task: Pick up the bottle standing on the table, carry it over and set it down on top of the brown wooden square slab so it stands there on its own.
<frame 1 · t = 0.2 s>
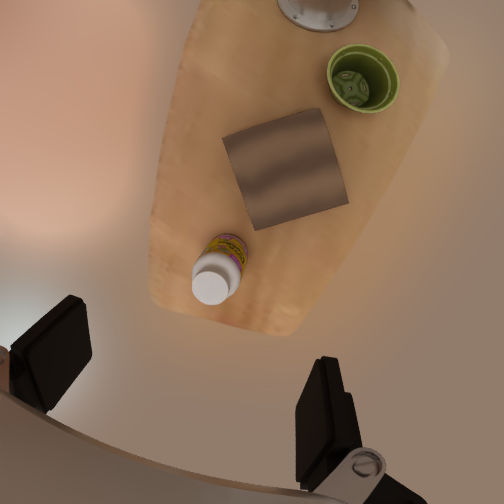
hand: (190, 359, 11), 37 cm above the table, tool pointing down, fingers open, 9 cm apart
plant pot: (349, 88, 38), on the table
brown wooden square slab: (286, 167, 43), on the table
supplement bottle: (227, 252, 49), on the table
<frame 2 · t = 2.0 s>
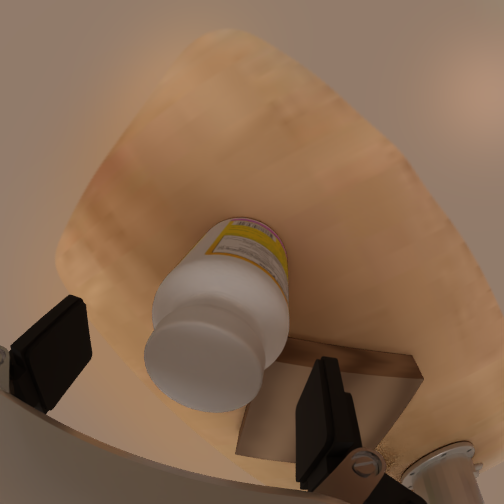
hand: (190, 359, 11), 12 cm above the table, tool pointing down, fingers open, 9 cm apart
brown wooden square slab: (320, 401, 26), on the table
supplement bottle: (243, 258, 23), on the table
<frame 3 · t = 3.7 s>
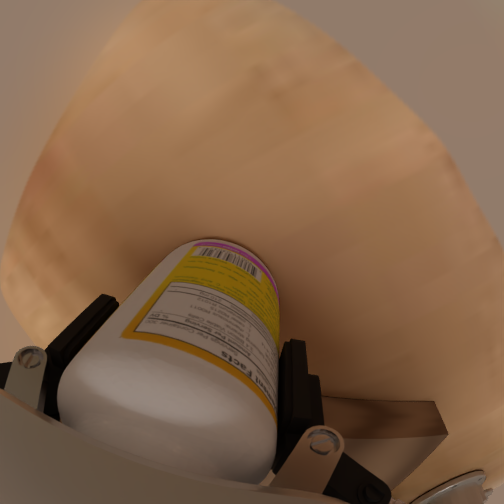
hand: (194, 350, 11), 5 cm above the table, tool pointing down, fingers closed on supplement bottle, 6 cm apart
brown wooden square slab: (320, 452, 20), on the table
supplement bottle: (217, 294, 16), on the table, touching gripper
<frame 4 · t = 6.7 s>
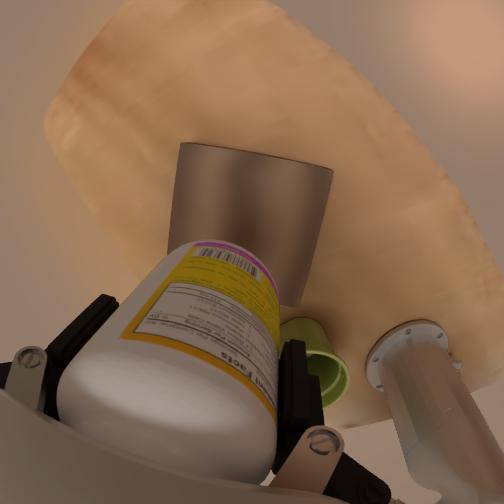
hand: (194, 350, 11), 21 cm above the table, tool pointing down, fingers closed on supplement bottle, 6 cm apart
plant pot: (300, 336, 36), on the table
brown wooden square slab: (246, 220, 31), on the table
supplement bottle: (217, 294, 16), point 16 cm above the table, touching gripper
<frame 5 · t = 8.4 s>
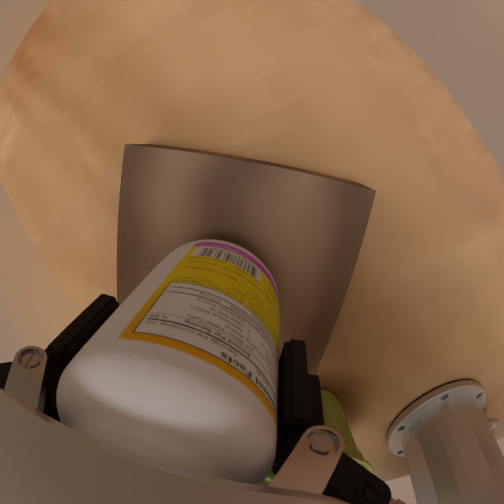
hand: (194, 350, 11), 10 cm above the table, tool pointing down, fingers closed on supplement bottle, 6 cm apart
plant pot: (308, 407, 25), on the table
brown wooden square slab: (233, 261, 21), on the table
supplement bottle: (217, 294, 16), point 5 cm above the table, touching gripper
when the fingers open (9 cm above the table, at t = 9.9 s): supplement bottle stays where it is, resting on brown wooden square slab.
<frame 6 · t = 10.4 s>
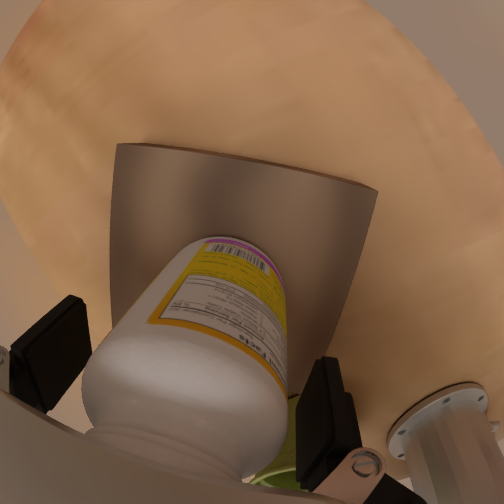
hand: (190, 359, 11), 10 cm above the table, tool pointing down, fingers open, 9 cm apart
plant pot: (307, 411, 24), on the table
brown wooden square slab: (230, 264, 20), on the table
supplement bottle: (226, 288, 17), point 3 cm above the table, touching brown wooden square slab
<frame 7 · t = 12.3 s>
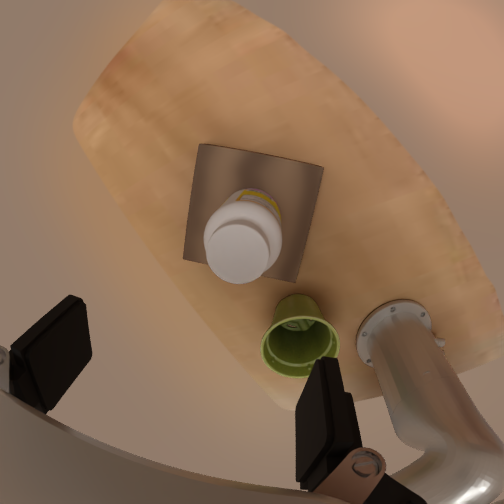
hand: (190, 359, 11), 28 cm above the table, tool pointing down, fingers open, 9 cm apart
plant pot: (297, 311, 42), on the table
brown wooden square slab: (251, 209, 37), on the table
supplement bottle: (251, 216, 34), point 3 cm above the table, touching brown wooden square slab
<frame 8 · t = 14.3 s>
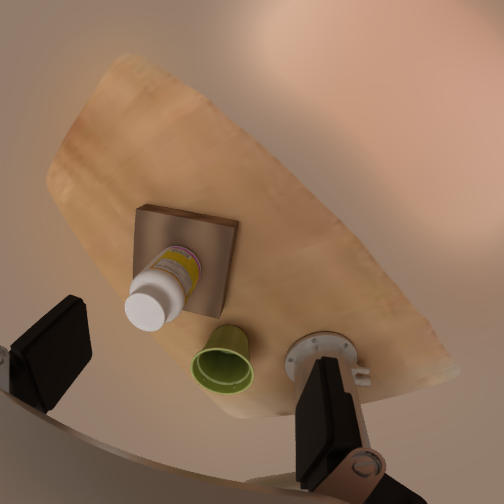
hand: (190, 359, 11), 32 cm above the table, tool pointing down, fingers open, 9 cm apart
plant pot: (230, 338, 49), on the table
brown wooden square slab: (184, 257, 45), on the table
supplement bottle: (180, 266, 42), point 3 cm above the table, touching brown wooden square slab
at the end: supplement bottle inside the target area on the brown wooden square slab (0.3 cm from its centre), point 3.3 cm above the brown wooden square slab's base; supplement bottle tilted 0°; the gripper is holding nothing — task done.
